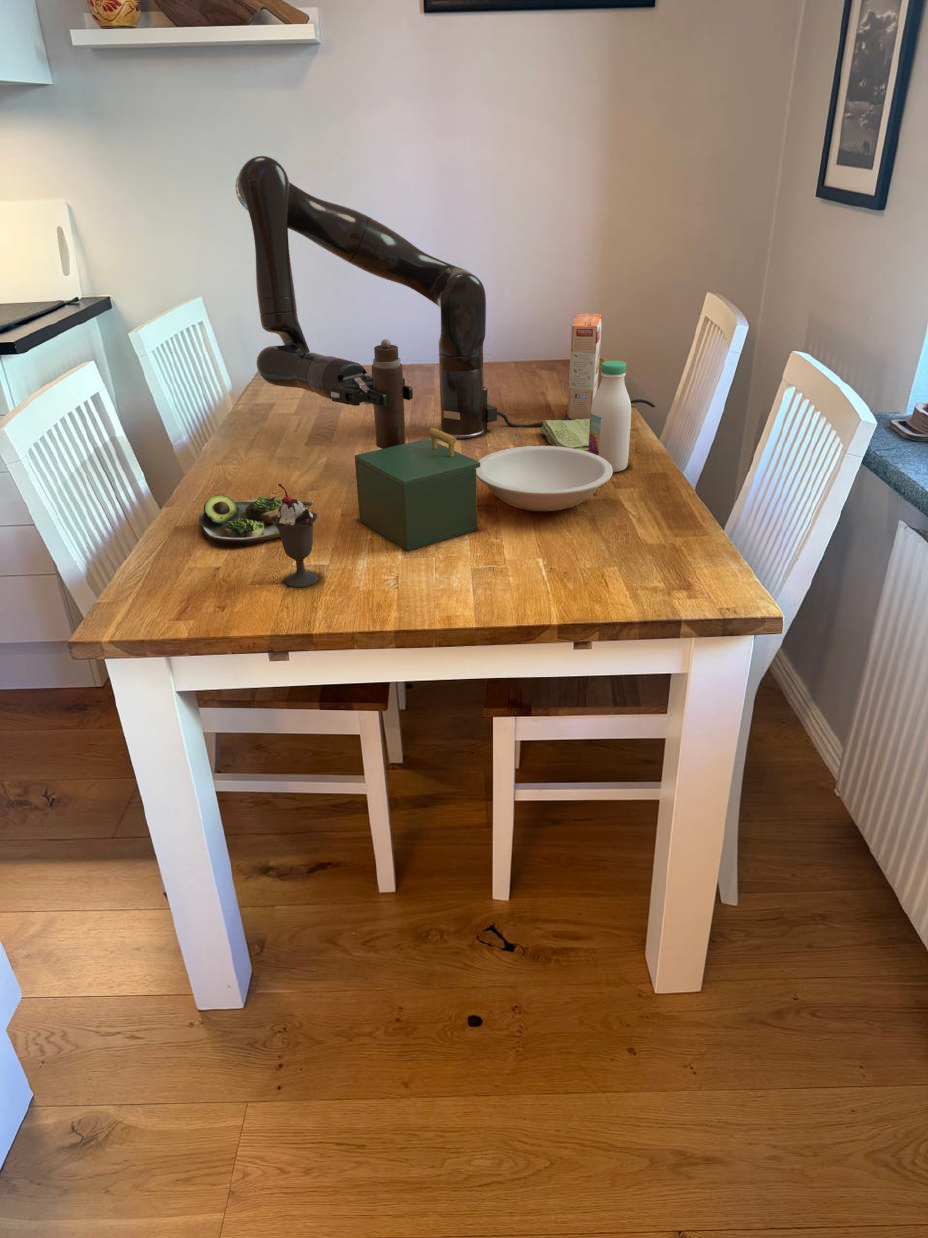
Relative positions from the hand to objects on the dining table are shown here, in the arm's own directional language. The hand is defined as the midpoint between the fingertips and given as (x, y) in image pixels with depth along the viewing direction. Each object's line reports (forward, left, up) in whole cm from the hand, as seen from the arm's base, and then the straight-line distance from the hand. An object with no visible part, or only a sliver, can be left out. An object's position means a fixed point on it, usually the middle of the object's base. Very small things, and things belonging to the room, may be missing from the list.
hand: (398, 397), depth 157 cm
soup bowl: (-18, +17, -19) cm, 31 cm away
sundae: (+30, +19, -19) cm, 40 cm away
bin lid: (+4, +12, -8) cm, 15 cm away
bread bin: (+5, +12, -18) cm, 22 cm away
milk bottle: (-40, +10, -19) cm, 46 cm away
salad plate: (+28, -5, -19) cm, 34 cm away
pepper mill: (+1, -3, -9) cm, 9 cm away
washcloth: (-45, -4, -19) cm, 49 cm away
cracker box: (-60, -20, -19) cm, 66 cm away
